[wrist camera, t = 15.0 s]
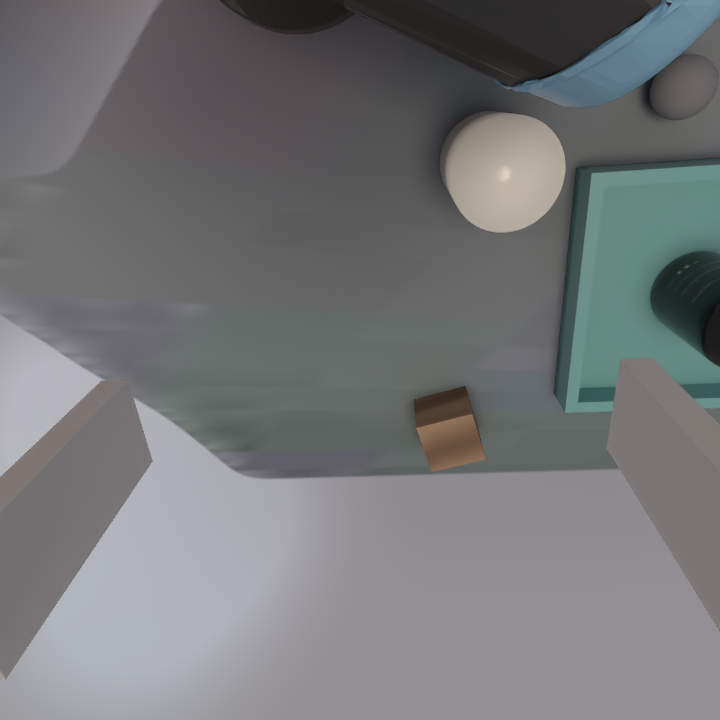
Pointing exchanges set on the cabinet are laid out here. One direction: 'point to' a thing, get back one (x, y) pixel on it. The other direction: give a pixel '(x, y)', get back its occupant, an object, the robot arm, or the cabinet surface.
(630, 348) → the tray
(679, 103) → the grey egg
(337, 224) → the cabinet surface
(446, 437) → the walnut block
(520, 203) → the cream round piece
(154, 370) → the cabinet surface
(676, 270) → the supplement bottle
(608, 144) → the cabinet surface
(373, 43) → the cabinet surface
